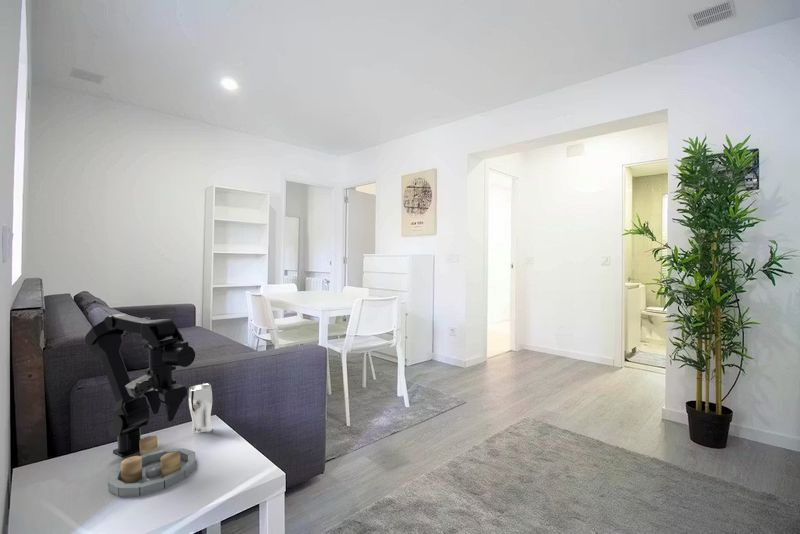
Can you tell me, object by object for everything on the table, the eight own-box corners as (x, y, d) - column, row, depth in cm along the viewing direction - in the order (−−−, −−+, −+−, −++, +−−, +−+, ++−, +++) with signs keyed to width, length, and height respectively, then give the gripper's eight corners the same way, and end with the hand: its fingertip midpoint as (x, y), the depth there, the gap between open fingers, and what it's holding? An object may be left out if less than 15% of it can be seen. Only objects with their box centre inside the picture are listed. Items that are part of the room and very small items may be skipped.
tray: (95, 486, 97) (94, 475, 97) (171, 452, 114) (171, 442, 114) (133, 509, 88) (133, 496, 88) (210, 468, 104) (210, 458, 104)
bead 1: (143, 472, 101) (142, 454, 101) (141, 481, 97) (140, 461, 97) (122, 478, 99) (121, 458, 99) (120, 486, 95) (119, 466, 95)
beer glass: (191, 429, 129) (189, 385, 129) (214, 425, 132) (212, 382, 132) (188, 438, 123) (187, 391, 123) (212, 433, 126) (211, 388, 126)
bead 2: (136, 457, 112) (136, 440, 112) (152, 450, 115) (152, 434, 115) (144, 461, 109) (144, 443, 109) (160, 454, 113) (160, 437, 113)
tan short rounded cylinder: (157, 477, 99) (157, 458, 99) (175, 468, 103) (174, 450, 103) (167, 481, 97) (166, 462, 97) (184, 473, 101) (183, 454, 100)
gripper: (115, 365, 109) (117, 420, 109) (143, 376, 98) (145, 436, 99) (158, 357, 118) (159, 407, 118) (188, 366, 107) (190, 421, 108)
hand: (162, 417), depth 110 cm, fingers open, 9 cm apart
